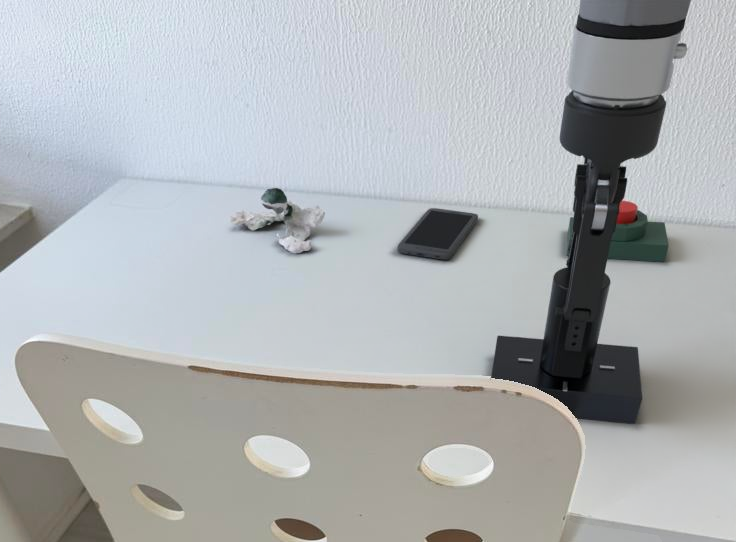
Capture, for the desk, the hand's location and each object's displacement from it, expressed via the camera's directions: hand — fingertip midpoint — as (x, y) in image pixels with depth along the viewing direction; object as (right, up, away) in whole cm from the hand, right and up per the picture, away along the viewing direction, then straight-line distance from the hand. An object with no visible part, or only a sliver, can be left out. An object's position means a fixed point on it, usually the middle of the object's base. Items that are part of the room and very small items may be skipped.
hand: (567, 354), depth 74 cm
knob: (0, -1, +1) cm, 1 cm away
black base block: (0, -3, +3) cm, 4 cm away
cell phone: (-9, +22, +30) cm, 38 cm away
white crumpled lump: (-31, +23, +32) cm, 51 cm away
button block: (+13, +19, +26) cm, 35 cm away
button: (+13, +22, +23) cm, 35 cm away
